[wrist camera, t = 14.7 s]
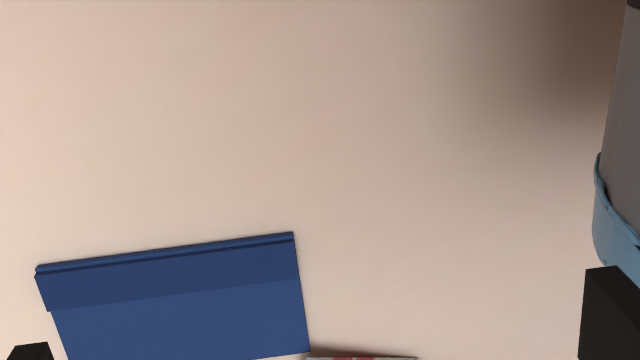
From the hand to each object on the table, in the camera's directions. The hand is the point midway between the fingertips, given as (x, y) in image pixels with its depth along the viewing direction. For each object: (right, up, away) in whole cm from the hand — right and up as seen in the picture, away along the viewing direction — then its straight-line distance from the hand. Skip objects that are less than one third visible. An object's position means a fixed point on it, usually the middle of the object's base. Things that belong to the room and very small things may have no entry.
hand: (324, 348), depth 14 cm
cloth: (-11, -6, +31) cm, 34 cm away
